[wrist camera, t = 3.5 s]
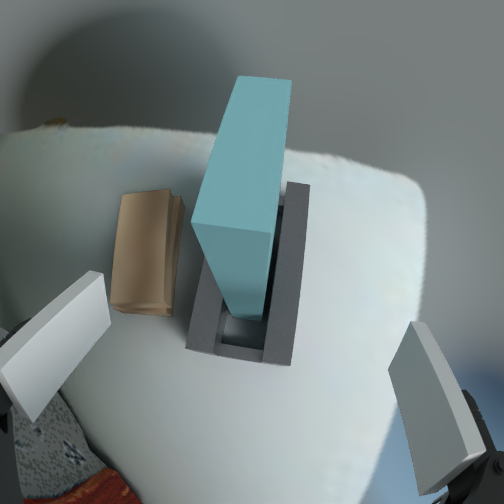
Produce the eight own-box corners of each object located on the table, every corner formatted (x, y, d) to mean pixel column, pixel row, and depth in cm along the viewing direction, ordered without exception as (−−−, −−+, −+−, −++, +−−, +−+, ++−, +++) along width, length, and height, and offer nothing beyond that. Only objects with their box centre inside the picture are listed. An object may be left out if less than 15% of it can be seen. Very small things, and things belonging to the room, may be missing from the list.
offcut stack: (122, 313, 25) (100, 302, 21) (139, 208, 29) (125, 185, 25) (177, 317, 25) (163, 307, 21) (189, 207, 29) (179, 182, 25)
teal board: (232, 316, 25) (190, 222, 9) (247, 232, 28) (238, 75, 12) (261, 321, 25) (270, 232, 9) (274, 236, 28) (291, 80, 12)
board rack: (196, 351, 24) (185, 348, 20) (228, 198, 29) (225, 173, 26) (284, 366, 23) (290, 365, 19) (303, 208, 29) (310, 184, 25)
